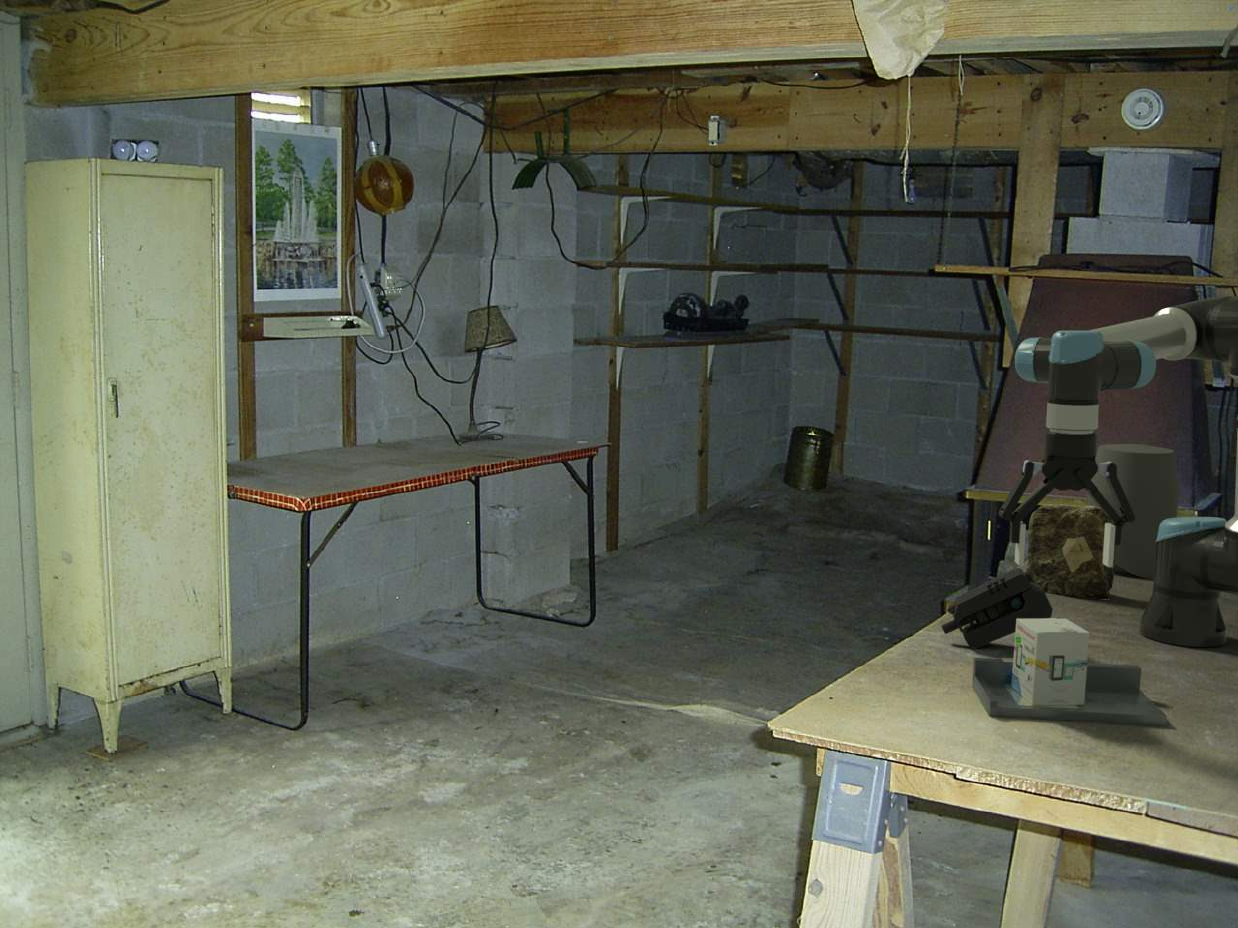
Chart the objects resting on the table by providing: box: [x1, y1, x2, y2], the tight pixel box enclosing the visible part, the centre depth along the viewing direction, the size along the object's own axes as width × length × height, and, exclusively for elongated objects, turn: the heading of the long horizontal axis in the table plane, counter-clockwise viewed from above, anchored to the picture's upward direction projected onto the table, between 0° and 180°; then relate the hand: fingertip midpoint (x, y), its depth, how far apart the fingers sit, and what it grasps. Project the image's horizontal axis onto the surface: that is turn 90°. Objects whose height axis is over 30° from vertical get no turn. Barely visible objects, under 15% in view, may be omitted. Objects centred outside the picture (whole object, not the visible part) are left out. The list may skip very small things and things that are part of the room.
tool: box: [940, 567, 1053, 649], centre depth 222 cm, size 6×19×15 cm
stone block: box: [1025, 503, 1116, 601], centre depth 264 cm, size 18×9×20 cm, turn 68°
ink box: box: [1011, 617, 1090, 705], centre depth 190 cm, size 8×8×12 cm
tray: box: [971, 657, 1168, 727], centre depth 191 cm, size 26×14×5 cm, turn 85°
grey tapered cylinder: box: [1085, 443, 1180, 579], centre depth 289 cm, size 20×20×30 cm
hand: (1063, 564), depth 191 cm, fingers open, 13 cm apart
